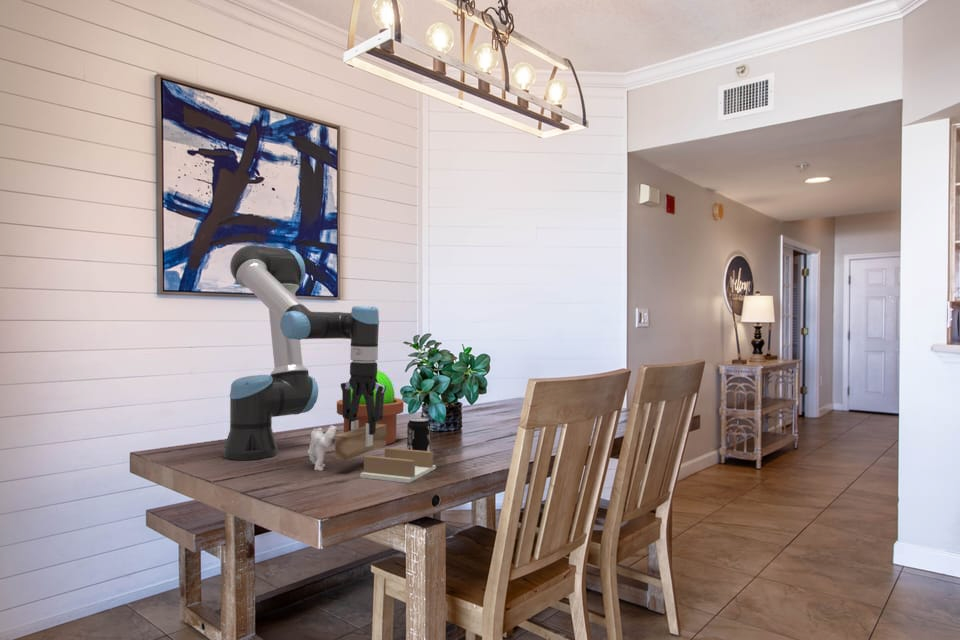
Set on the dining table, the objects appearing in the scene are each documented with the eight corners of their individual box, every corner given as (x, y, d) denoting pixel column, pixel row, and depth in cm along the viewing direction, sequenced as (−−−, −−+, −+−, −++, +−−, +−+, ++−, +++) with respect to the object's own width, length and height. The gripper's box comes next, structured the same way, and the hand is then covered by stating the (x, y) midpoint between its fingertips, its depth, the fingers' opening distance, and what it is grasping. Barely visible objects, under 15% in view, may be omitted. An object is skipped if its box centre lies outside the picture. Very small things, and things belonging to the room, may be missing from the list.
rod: (334, 458, 161) (335, 435, 161) (373, 443, 180) (374, 423, 180) (347, 459, 160) (348, 437, 160) (385, 445, 179) (386, 424, 178)
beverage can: (426, 463, 173) (426, 421, 173) (403, 462, 175) (404, 420, 175) (432, 458, 180) (432, 417, 180) (411, 457, 181) (411, 416, 181)
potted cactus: (399, 448, 193) (399, 369, 194) (329, 448, 193) (330, 369, 193) (406, 435, 215) (407, 365, 216) (344, 435, 215) (344, 364, 215)
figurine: (339, 469, 165) (339, 425, 165) (323, 473, 161) (324, 427, 161) (315, 463, 172) (316, 421, 172) (300, 466, 168) (300, 423, 168)
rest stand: (360, 477, 157) (360, 458, 157) (390, 464, 172) (390, 446, 172) (408, 482, 152) (408, 462, 152) (435, 468, 167) (435, 450, 167)
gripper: (330, 360, 169) (327, 444, 169) (384, 364, 163) (381, 451, 163) (345, 358, 176) (343, 439, 176) (397, 362, 170) (395, 445, 170)
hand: (361, 444), depth 170 cm, fingers closed on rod, 4 cm apart
